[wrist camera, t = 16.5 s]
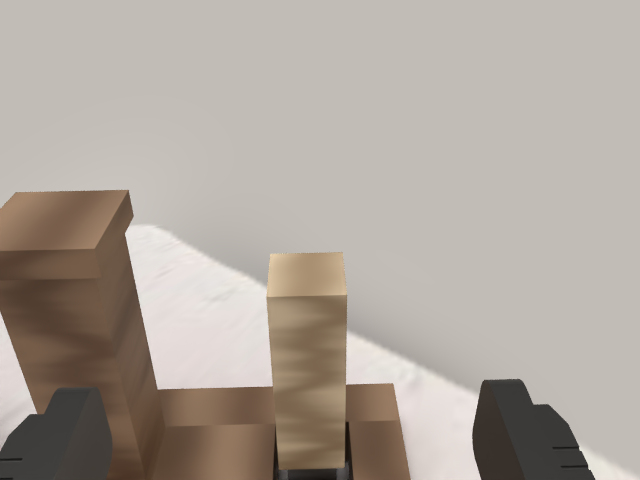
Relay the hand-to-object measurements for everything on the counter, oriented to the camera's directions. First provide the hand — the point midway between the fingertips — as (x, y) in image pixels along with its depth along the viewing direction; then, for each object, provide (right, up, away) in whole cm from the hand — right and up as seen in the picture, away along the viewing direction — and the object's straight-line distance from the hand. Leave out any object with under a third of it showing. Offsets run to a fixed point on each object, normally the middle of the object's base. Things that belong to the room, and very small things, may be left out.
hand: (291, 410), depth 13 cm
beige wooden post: (0, -14, +28) cm, 31 cm away
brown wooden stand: (-5, -14, +28) cm, 31 cm away
